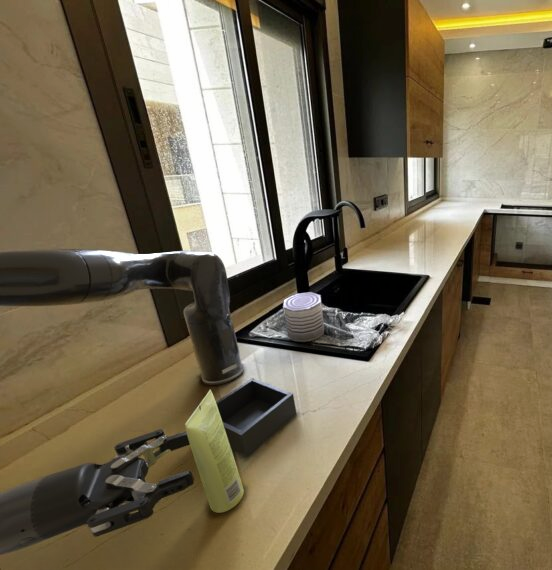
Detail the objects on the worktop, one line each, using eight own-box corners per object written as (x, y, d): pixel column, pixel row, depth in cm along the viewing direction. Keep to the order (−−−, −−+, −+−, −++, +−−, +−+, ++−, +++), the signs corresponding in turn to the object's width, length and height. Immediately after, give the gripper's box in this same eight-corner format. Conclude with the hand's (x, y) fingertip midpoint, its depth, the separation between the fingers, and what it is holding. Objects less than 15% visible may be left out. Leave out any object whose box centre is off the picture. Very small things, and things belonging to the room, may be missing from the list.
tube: (204, 498, 55) (172, 405, 48) (236, 477, 58) (210, 388, 51) (217, 521, 51) (184, 424, 44) (250, 497, 55) (224, 404, 48)
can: (332, 329, 109) (328, 296, 105) (307, 345, 99) (302, 309, 95) (306, 322, 113) (301, 290, 109) (280, 337, 104) (274, 302, 99)
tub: (204, 436, 67) (197, 413, 65) (256, 398, 78) (252, 377, 75) (247, 458, 62) (240, 435, 60) (296, 414, 73) (293, 393, 70)
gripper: (2, 540, 35) (184, 473, 43) (56, 446, 47) (192, 406, 54) (32, 582, 38) (198, 512, 45) (76, 483, 49) (203, 440, 57)
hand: (195, 454), depth 50 cm, fingers open, 8 cm apart
